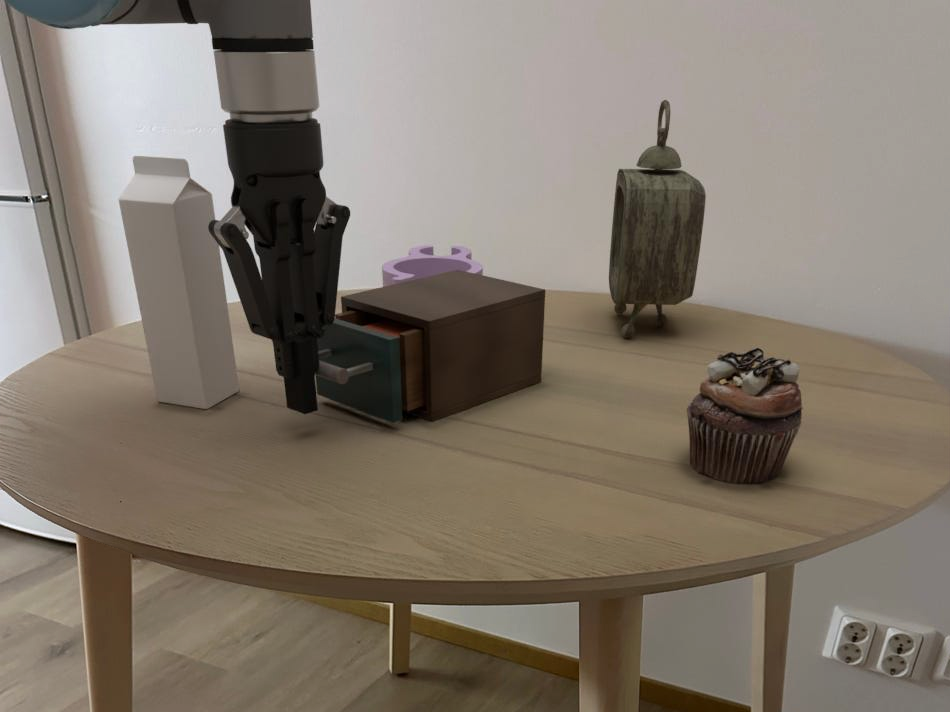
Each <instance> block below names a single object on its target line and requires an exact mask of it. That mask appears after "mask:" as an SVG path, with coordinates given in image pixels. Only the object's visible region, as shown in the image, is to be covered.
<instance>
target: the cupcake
mask: <svg viewBox="0 0 950 712" xmlns="http://www.w3.org/2000/svg"><path fill="white" fill-rule="evenodd" d="M764 356H765V352H764V350H763V349H761V348H759V347H757V348H753V349H750V350H748V351H746V352H745V353H741V354H739V353H738V354H737V353H735V352H733V351H731V352H727V353H726V354H718V356H717V360H715V361H713V362H711V363H710V364H708V365H707V366H706V367H707V374H708V377H707V378H705V379H703V380H701V382H700V386H699V393H698V394H697V395H696V396H694V398H693V399H692V401H691V402H689V403H688V405H687V407H686V416H687V417H686V418H687V423H688V435H689V436H688V437H689V465H690V466H692V469H693V470H696V472H697V473H699V474H702V475H705V476H708V477H710V478H712V479H714V480H717V481H720V482H721V481H722V482H727V483H732V484H741V485H742V484H743V485H744V484H747V485H750V484H762V483H765V482H768V481H770V480H773V479H776V478H778V477H779V475H780V474H781V471H782V469H783V466H784V464H785V462H786V459H787V457H788V455H789V452H790V450H791V448H792V445H793V443H794V440H795V439H796V437H797V435H798V432H799V430H800V428H801V426H802V423H803V421H802V414H803V413H802V410H804V406H803V403H802V391H801V389H800V388H799V386H800V385H799V384H798V383H797V381H798V379H799V375H800V368H799V365H798V364H797V363H794V362H791V360H790V359H789V358H787V359H786V360H784V359H783V358H775V357H770V358H766V359H765V357H764ZM738 358H740V359H738Z"/></svg>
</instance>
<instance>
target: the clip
mask: <svg viewBox="0 0 950 712" xmlns="http://www.w3.org/2000/svg"><path fill="white" fill-rule="evenodd" d="M472 254H473V253H472V249H470V248H468V247H465V246H461V245H452V246H451V249H450V254H448V255H447V254H446V255H434V246H433V245H432V244H426V245H418V246H414V247H412V248H410V249H408V256H405V257H400V258H395V259H391V260H388V261H386V262H384V263H383V264H382V265H381V272H382V274H381V275H382V276H381V277H382V287H385V286H389V285H394V284H398V283H402V282H407V281H411V280H415V279H420V278H424V277H428V276H432V275H437V274H441V273H445V272H450V271H454V270H461V271H465V272H470V273H474V274H479V275H483V273H484V270H483V269H484V266H483V264H482V263H480V261H479V262H478V261H476V260H474V259H472V258H473V257H472V256H473V255H472ZM483 276H484V275H483Z"/></svg>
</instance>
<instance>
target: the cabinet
mask: <svg viewBox="0 0 950 712" xmlns="http://www.w3.org/2000/svg"><path fill="white" fill-rule="evenodd" d="M340 305H341V313H343V312H347V311H351V310H355V309H358V310H362V311H365V312H369V313H372V314H376V315H379V316H383V317H386V318H390V319H393V320H397V321H400V322H404V323H407V324H411V325H415V326H418V327H422V328H425V329H424V344H425V383H426V405H425V406H422V407H419V408H416V409H413V410H410V411H405V410H402V412H404V413H407V414H410V415H412V416H416V417H418V418H421V419H423V420H426V421H429V422H436V421H438V420H440V419H443V418H446V417H449V416H451V415H455V414H457V413H459V412H463V411H465V410H468V409H470V408H473V407H476V406H479V405H481V404H483V403H487V402H489V401H492V400H495V399H497V398H500V397H503V396H505V395H508V394H511V393H514V392H516V391H519V390H522V389H525V388H527V387H530V386H533V385H536V384H538V383H542V373H543V371H542V370H543V353H544V351H543V348H544V332H545V331H544V327H545V325H544V324H545V306H546V289H544V288H541V287H536V286H532V285H526V284H523V283H519V282H515V281H510V280H504V279H500V278H497V277H492V276H487V275H479V274H474V273H470V272H465V271H461V270H454V271H450V272H445V273H441V274H437V275H432V276H428V277H424V278H420V279H415V280H411V281H407V282H402V283H398V284H394V285H389V286H385V287H383V286H381V287H375V288H373V289H367V290H363V291H359V292H355V293H350V294H347V295H342V296H340Z"/></svg>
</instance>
